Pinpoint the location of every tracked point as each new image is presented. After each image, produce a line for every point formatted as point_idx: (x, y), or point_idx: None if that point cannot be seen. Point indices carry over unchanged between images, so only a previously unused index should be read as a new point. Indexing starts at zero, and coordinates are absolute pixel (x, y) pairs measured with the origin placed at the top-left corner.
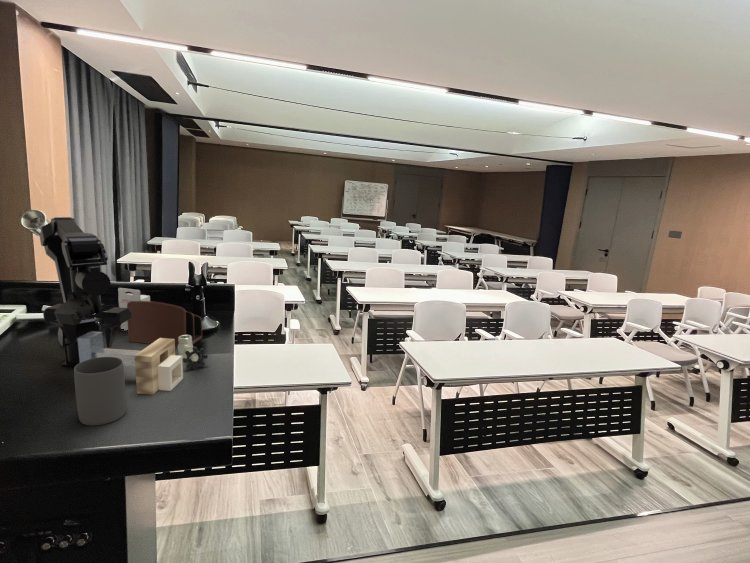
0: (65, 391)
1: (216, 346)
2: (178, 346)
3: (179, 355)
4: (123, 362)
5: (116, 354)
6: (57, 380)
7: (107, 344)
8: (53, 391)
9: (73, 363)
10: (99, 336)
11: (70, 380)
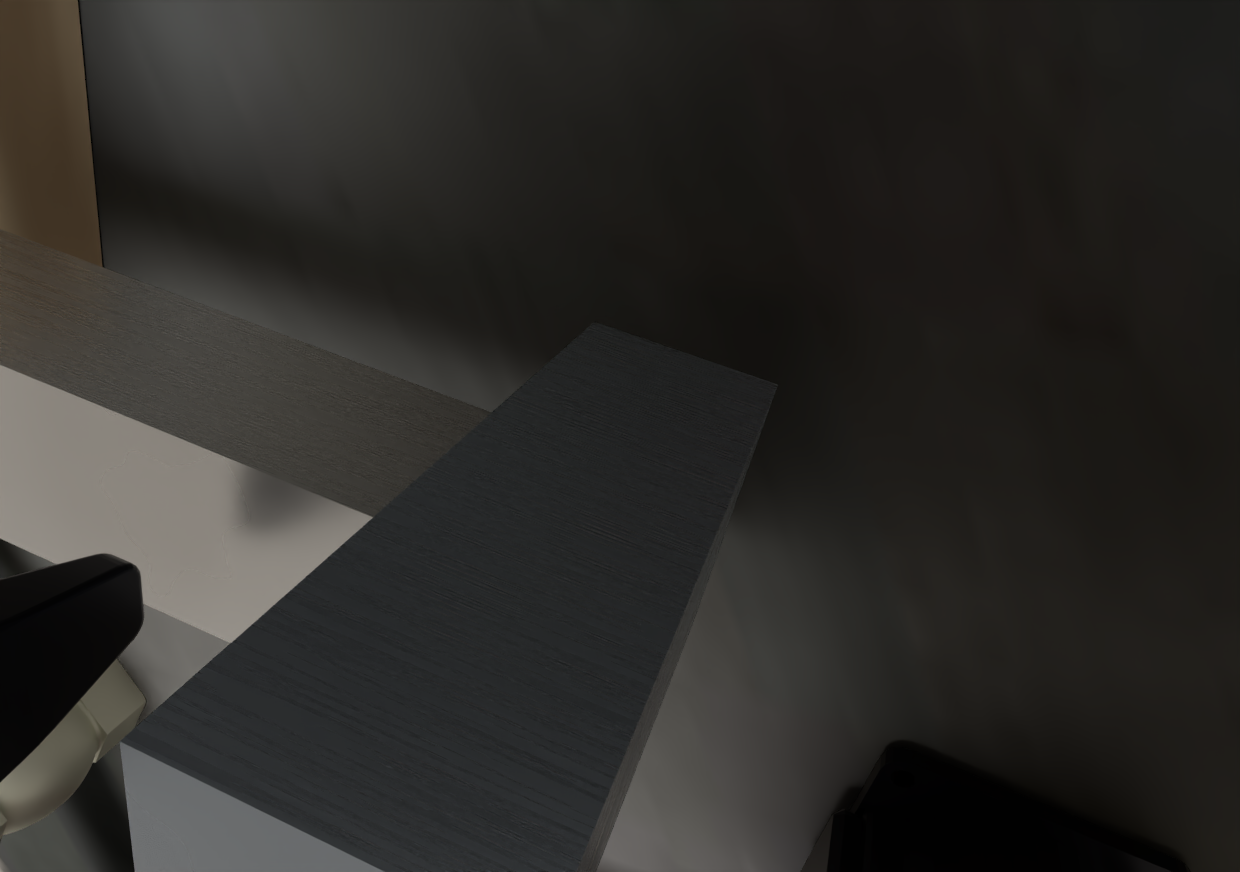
0: (952, 60)
1: None
2: None
3: (113, 701)
4: (57, 280)
5: (22, 366)
6: (1159, 466)
7: (30, 587)
8: (1144, 80)
9: (1036, 840)
10: None
11: (973, 428)
